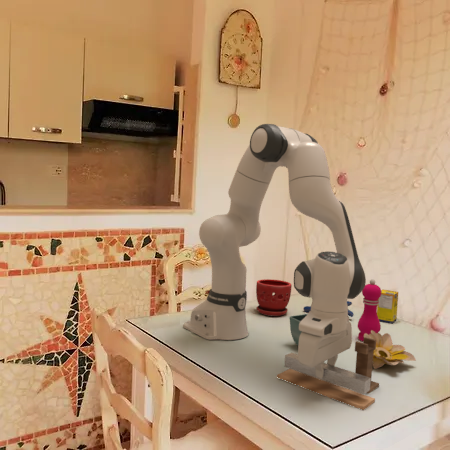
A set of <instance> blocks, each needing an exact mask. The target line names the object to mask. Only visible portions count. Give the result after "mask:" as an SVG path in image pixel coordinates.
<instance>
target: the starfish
mask: <svg viewBox="0 0 450 450" xmlns="http://www.w3.org/2000/svg"><path fill="white" fill-rule="evenodd" d="M347 305H348V307H350V306H351V305H353V302H352V301H349V300H347ZM302 310H303V311H304V312H305V313H307V314H308V313H309V312H310V311H311V305H309V306H303V309H302ZM348 317H351V318H352V317H353V318H354V312H353V311H351V309H349V308H348Z"/></svg>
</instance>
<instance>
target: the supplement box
mask: <svg viewBox="0 0 450 450" xmlns="http://www.w3.org/2000/svg"><path fill="white" fill-rule="evenodd" d="M378 300H379V304H378V305H377V316H378V319H379V321H380V322H383V323H389V324H394V323H395V322H394V321H396V320H397V317H398V315H397V314H398V306H399V305H398V304H399V291H397V290H396V291H395V290H389V289H381V296H380V297H379V298H378Z"/></svg>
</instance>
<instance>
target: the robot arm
mask: <svg viewBox="0 0 450 450" xmlns="http://www.w3.org/2000/svg"><path fill="white" fill-rule="evenodd" d="M279 167H284V168H286V169H287V172H288V191H289V197H290V202H291V204H292V205H293V207H294V208H295V209H296V210H298V212H299V213H301V214H303V215H305V216H307V217H309V218H312V219H314V220H317V221H319V222H321V223H323V225H325V226H326V227H328V228H329V230H330V232H331V234H332V237H333V238H332V239H333V243H334V245H335V250H336V252H335V251H327V250H326V251H321V252H319V253H317V254H316V256H315V258H313V259H308V260H304V261H301V262H300V263H299V264H298V265H297V266H296V268H295V269H294V272H293V287H294V289H295V290H296V291H297V293H299V294H300V296H301V297H305V298H311V303H310V304H311V305H310V306H311V311H310V312H309V313H308V312H307V313H306V314H307V316H306V317H305V318H304V319H303V320H302V321H301V322H300V323H299V330H300V331H302V332H301V334H300V337H299V344H298V346H297V347H298V348H297V354H298V360H299V362H300V364H301V365H304V366H307V367H310V368H312V367H314V366H315V369H316V376H317V377H319V378H322V377H324V376H325V370H324V369H323V365H324V363H325V361H326V364H329V365H332V366H335V365H336V363H337V360H338V357H339V354H342V353H344V352H346V351H347V350H349V349H350V348H351V346H352V342H353V327H352V323H351V322H350V316H349V315H348V309H349V306H348V305H347V301H348V299H349V300H354V299H356V298H357V297H358V296H359V295H360V294H362V290H363V289H364V287H365V285H366V284H367V283H366V273H365V271H364V268H363V266H362V265H363V264H362V262H361V260H360V258H359V254H358V251H357V247H356V243H355V239H354V234H353V230H352V226H351V223H350V219H349V216H348V212H347V209H346V206H345V204H344V203H343V201H340V200H339V199H338V198H337V196H336V194H335V192H334V191H333V188H332V184H331V183H332V182H331V174H330V169H329V163H328V158H327V155H326V151H325V149H324V147H323V146H322V145H321V144H320V143H319V142H318V141H317V139H315V137H313V136H311V135H310V134H308V133H304V132H303V131H300V130H298V129H295V128H292V127H286V126H279V125H277V124H275V123H274V124H273V123H263V124H260V125H258V126H257V127H256V128H255V129H254V130H253V131H252V133H251V135H250V140H249V145H248V146H247V148H246V150H245V151H244V153H243V155H242V157H241V159H240V161H239V163H238V165H237V167H236V170H235V173H234V176H233V177H232V180H231V183H230V186H229V188H228V192H227V193H228V197H229V199H230V206H229V210H228V213H226V214H217V215H214V216H210V217H209V218H207V219H205V220H204V221H203V222H202V223H201V224H200V227H199V230H198V231H199V232H198V236H199V240H200V242H201V244H202V245H203V247H205V248H206V249H207V252H208V256H209V259H210V263H211V288H210V289H208V290H204V292H205V293H204V295H207V297H206V300H204V301H202V302H201V303H199V304H198V305H196V307H194V308H193V309H192V311H191V313H190V319H189V320H187V321H186V322H184V323H183V324H182V328H184V329H185V330H188V331H189V332H192V333H193V334H196V335H198V336H199V337H201V338H204V339H205V340H223V341H224V340H225V341H227V340H228V341H232V340H240V339H244V338H246V337H248V335H249V330H248V324H247V316H246V313H247V312H246V305H247V299H248V297H247V296H248V295H247V289H246V286H247V285H246V284H247V267H246V265H245V264H244V262H243V260H242V258H241V253H240V248H242V247H246V246H249V245H251V244H252V243H254V242H255V241H257V240H258V238H259V237H260V235H261V232H262V231H261V224H260V221H259V220H260V212H261V208H262V204H263V201H264V199H265V196H266V194H267V191H268V189H269V186H270V183H271V181H272V179H273V176H274V173H275V171H276V170H277V169H279ZM319 378H318V379H319Z"/></svg>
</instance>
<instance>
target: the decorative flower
mask: <svg viewBox="0 0 450 450" xmlns="http://www.w3.org/2000/svg"><path fill="white" fill-rule="evenodd" d="M371 333H372V334H369V335H368V334H364V337H367V338H371V339H374V340H376V349H375V350H374V351H373V364H372V368H373V369H375V370H376V369H380V368H382V367H384V365H388V366H396V365H398V364H404V362H405V361H408V362H410V361H411V362H413V361H417V360H416V358H415V356H414V354H412V353H411V352H409V351H406V348H405V346H403V345H401V344H393V340H392V336H391V335H390V334H389V333H388V332H386V333H384V334H381V333H380V332H378V333H375V332H374V331H373V330H371Z"/></svg>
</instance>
